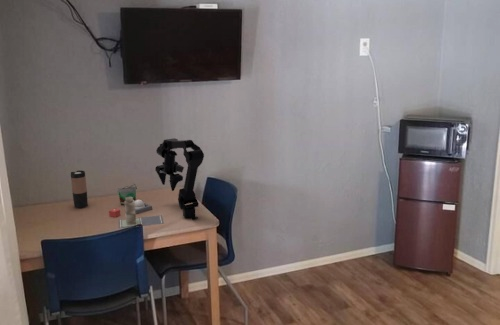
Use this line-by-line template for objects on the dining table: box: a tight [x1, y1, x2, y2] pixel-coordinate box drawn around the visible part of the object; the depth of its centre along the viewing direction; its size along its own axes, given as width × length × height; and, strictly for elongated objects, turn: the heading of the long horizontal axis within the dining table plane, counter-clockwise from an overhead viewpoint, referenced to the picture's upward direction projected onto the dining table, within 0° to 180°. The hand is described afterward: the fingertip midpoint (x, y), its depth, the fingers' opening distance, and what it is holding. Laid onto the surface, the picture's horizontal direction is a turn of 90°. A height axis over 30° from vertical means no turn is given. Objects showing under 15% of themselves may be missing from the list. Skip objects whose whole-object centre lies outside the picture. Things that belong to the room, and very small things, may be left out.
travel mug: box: [70, 170, 89, 209], centre depth 264 cm, size 8×8×20 cm
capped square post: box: [124, 197, 137, 224], centre depth 237 cm, size 4×4×13 cm
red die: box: [108, 208, 121, 218], centre depth 248 cm, size 4×4×4 cm
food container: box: [117, 183, 138, 206], centre depth 269 cm, size 12×6×10 cm, turn 143°
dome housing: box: [135, 202, 153, 215], centre depth 257 cm, size 10×10×3 cm
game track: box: [118, 215, 165, 229], centre depth 240 cm, size 22×12×1 cm, turn 106°
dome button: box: [134, 199, 145, 209], centre depth 257 cm, size 6×6×6 cm
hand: (168, 187), depth 259 cm, fingers open, 9 cm apart
